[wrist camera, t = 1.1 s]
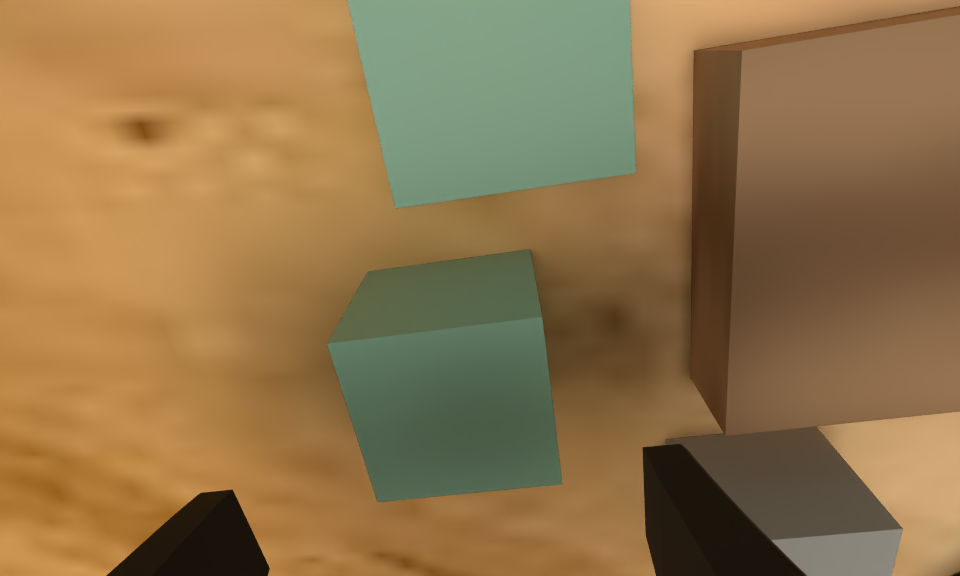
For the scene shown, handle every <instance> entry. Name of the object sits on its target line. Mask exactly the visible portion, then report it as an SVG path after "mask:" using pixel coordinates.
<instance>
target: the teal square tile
mask: <svg viewBox="0 0 960 576" xmlns="http://www.w3.org/2000/svg"><path fill="white" fill-rule="evenodd" d="M347 1H348V5H349V9H350V14H351V18H352V22H353V27H354V31H355V36H356V40H357V44H358V49H359V53H360V57H361V62H362V66H363V70H364V75H365V79H366V83H367V88H368V92H369V97H370V101H371V105H372V110H373V114H374V118H375V123H376V127H377V131H378V136H379V140H380V144H381V149H382V153H383V158H384V162H385V166H386V171H387V175H388V179H389V184H390V188H391V192H392V197H393V201H394V205H395V209H397V208H403V207H410V206H417V205H424V204H430V203H437V202H444V201H451V200H457V199H464V198H471V197H478V196H484V195H491V194H498V193H505V192H511V191H518V190H525V189H532V188H538V187H545V186H552V185H558V184H565V183H572V182H579V181H585V180H592V179H599V178H606V177H612V176H619V175H626V174H633V173H636V164H635V135H634V106H633V78H632V49H631V20H630V0H347Z"/></svg>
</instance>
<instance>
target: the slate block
mask: <svg viewBox="0 0 960 576" xmlns="http://www.w3.org/2000/svg"><path fill="white" fill-rule="evenodd" d="M672 444H681V445H683V446H684V447H685V448H687V449H688V451H689V452H690V453H691V454H692V455H693V457H694V458H695V459H696V460H697V461H698V462H699V463H700V465H701V466H702V467H703V468H704V469H705V470H706V472H707V473H708V474H709V475H710V476H711V477H712V478H713V479H714V481H715V482H716V483H717V484H718V485H719V486H720V487H721V488H722V489H723V491H724V492H725V493H726V494H727V495H728V496H729V497H730V498H731V499H732V500H733V501H734V502H735V503H736V505H737V506H738V507H739V508H740V509H741V510H742V511H743V512H744V513H745V514H746V515H747V516H748V517H749V518H750V519H751V520H752V521H753V522H754V523H755V525H756V526H757V527H758V528H759V529H760V530H761V531H762V532H763V533H764V534H765V535H766V536H767V537H768V538H769V539H770V540H771V541H772V542H773V543H774V544H775V545H776V546H777V547H778V548H779V549H780V550H781V551H782V552H783V553H784V554H785V555H786V556H787V557H788V558H789V559H790V560H791V561H792V562H793V563H795V564H796V565H797V566H798V567H799V568H800V569H801V570H802V571H803V572H804V573H805V574H806V575H807V576H892V572H893V568H894V563H895V559H896V555H897V551H898V547H899V543H900V539H901V535H902V531H903V528H902V527H901V526H900V525H899V524H898V522H897V521H896V520H895V519H894V518H893V517H892V515H891V514H890V513H889V512H888V511H887V510H886V508H885V507H884V506H883V505H882V504H881V502H880V501H879V500H878V499H877V498H876V497H875V495H874V494H873V493H872V492H871V491H870V490H869V488H868V487H867V486H866V485H865V484H864V482H863V481H862V480H861V479H860V478H859V477H858V475H857V474H856V473H855V472H854V471H853V470H852V468H851V467H850V466H849V465H848V464H847V462H846V461H845V460H844V459H843V458H842V457H841V455H840V454H839V453H838V452H837V451H836V450H835V448H834V447H833V446H832V445H831V444H830V442H829V441H828V440H827V439H826V438H825V437H824V435H823V434H822V433H821V432H820V431H819V430H818V428H817V427H816V426H815V427H805V428H795V429H786V430H776V431H766V432H757V433H747V434H738V435H728V436H725V434H724V433H722V434H713V435H703V436H693V437H684V438H674V439H666V445H672Z"/></svg>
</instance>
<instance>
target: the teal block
mask: <svg viewBox="0 0 960 576" xmlns="http://www.w3.org/2000/svg"><path fill="white" fill-rule="evenodd" d="M327 346H328V349H329V352H330V355H331V358H332V361H333V364H334V368H335V371H336V374H337V377H338V380H339V383H340V386H341V389H342V393H343V396H344V399H345V402H346V405H347V408H348V411H349V415H350V418H351V421H352V424H353V427H354V430H355V433H356V436H357V440H358V443H359V446H360V449H361V452H362V455H363V458H364V461H365V465H366V468H367V471H368V474H369V477H370V480H371V483H372V487H373V490H374V493H375V496H376V499H377V502H385V501H395V500H406V499H416V498H426V497H436V496H447V495H457V494H467V493H478V492H488V491H498V490H508V489H519V488H529V487H539V486H549V485H560V484H562V476H561V467H560V459H559V451H558V443H557V434H556V426H555V418H554V410H553V401H552V393H551V385H550V377H549V368H548V360H547V352H546V344H545V335H544V327H543V319H542V313H541V307H540V301H539V296H538V290H537V284H536V279H535V273H534V267H533V262H532V256H531V250H530V249H529V250H522V251H514V252H507V253H500V254H493V255H485V256H478V257H471V258H464V259H456V260H449V261H442V262H435V263H427V264H420V265H413V266H406V267H398V268H391V269H384V270H377V271H369V272H368V273H367V274H366V276H365V278H364V280H363V281H362V283H361V285H360V287H359V288H358V290H357V292H356V294H355V295H354V297H353V299H352V301H351V302H350V304H349V306H348V308H347V310H346V311H345V313H344V315H343V317H342V318H341V320H340V322H339V324H338V325H337V327H336V329H335V331H334V332H333V334H332V336H331V338H330V339H329V341H328V343H327Z"/></svg>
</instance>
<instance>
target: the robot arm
mask: <svg viewBox="0 0 960 576" xmlns="http://www.w3.org/2000/svg"><path fill="white" fill-rule="evenodd" d="M643 469H644V497H645V525H646V537H647V541H648V545H649V549H650V553H651V557H652V561H653V565H654V569H655V573H656V576H807V575H806V574H805V573H804V572H803V571H802V570H801V569H800V568H799V567H798V566H797V565H796V564H795V563H793V562H792V561H791V560H790V559H789V558H788V557H787V556H786V555H785V554H784V553H783V552H782V551H781V550H780V549H779V548H778V547H777V546H776V545H775V544H774V543H773V542H772V541H771V540H770V539H769V538H768V537H767V536H766V535H765V534H764V533H763V532H762V531H761V530H760V529H759V528H758V527H757V526H756V525H755V523H754V522H753V521H752V520H751V519H750V518H749V517H748V516H747V515H746V514H745V513H744V512H743V511H742V510H741V509H740V508H739V507H738V506H737V505H736V503H735V502H734V501H733V500H732V499H731V498H730V497H729V496H728V495H727V494H726V493H725V492H724V491H723V489H722V488H721V487H720V486H719V485H718V484H717V483H716V482H715V481H714V479H713V478H712V477H711V476H710V475H709V474H708V473H707V472H706V470H705V469H704V468H703V467H702V466H701V465H700V463H699V462H698V461H697V460H696V459H695V458H694V457H693V455H692V454H691V453H690V452H689V451H688V449H687V448H685V447H684V446H683V445H681V444H672V445H663V446H653V447H643ZM269 569H270V568H269V566H268V564H267V562H266V559H265V557H264V555H263V553H262V551H261V549H260V547H259V545H258V542H257V540H256V538H255V536H254V534H253V532H252V530H251V528H250V525H249V523H248V521H247V519H246V517H245V515H244V513H243V511H242V509H241V506H240V504H239V502H238V500H237V498H236V496H235V494H234V492H233V490H225V491H215V492H206V493H200V494H199V495H198V496H196V497H195V498H194V499H193V500H191V501H190V502H189V503H188V504H187V505H185V506H184V507H183V508H182V509H181V510H180V511H178V512H177V513H176V514H175V515H174V516H173V517H171V518H170V519H169V520H168V521H167V522H166V523H165V524H164V525H162V526H161V527H160V528H159V529H158V530H157V531H156V532H155V533H153V534H152V535H151V536H150V537H149V538H148V539H147V540H146V541H145V542H143V543H142V544H141V545H140V546H139V547H138V548H137V549H136V550H135V551H133V552H132V553H131V554H130V555H129V556H128V557H127V558H126V559H125V560H123V561H122V562H121V563H120V564H119V565H118V566H117V567H116V568H114V569H113V570H112V571H111V572H110V573H109V574H108V575H107V576H268V572H269Z"/></svg>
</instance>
